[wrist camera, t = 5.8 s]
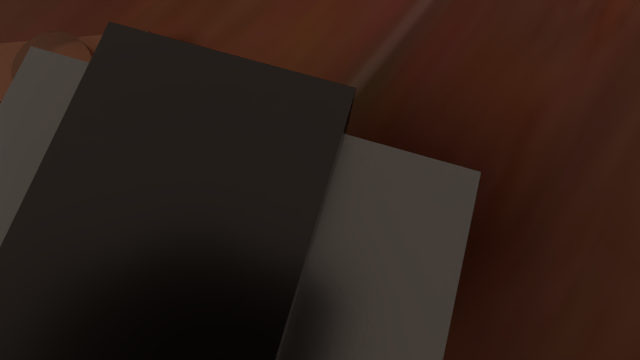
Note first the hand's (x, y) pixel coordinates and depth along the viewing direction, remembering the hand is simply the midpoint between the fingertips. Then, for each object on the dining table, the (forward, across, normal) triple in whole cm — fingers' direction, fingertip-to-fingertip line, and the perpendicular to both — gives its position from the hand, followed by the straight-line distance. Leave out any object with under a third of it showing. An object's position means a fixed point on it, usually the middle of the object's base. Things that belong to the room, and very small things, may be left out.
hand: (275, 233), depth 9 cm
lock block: (+4, 0, +6) cm, 7 cm away
